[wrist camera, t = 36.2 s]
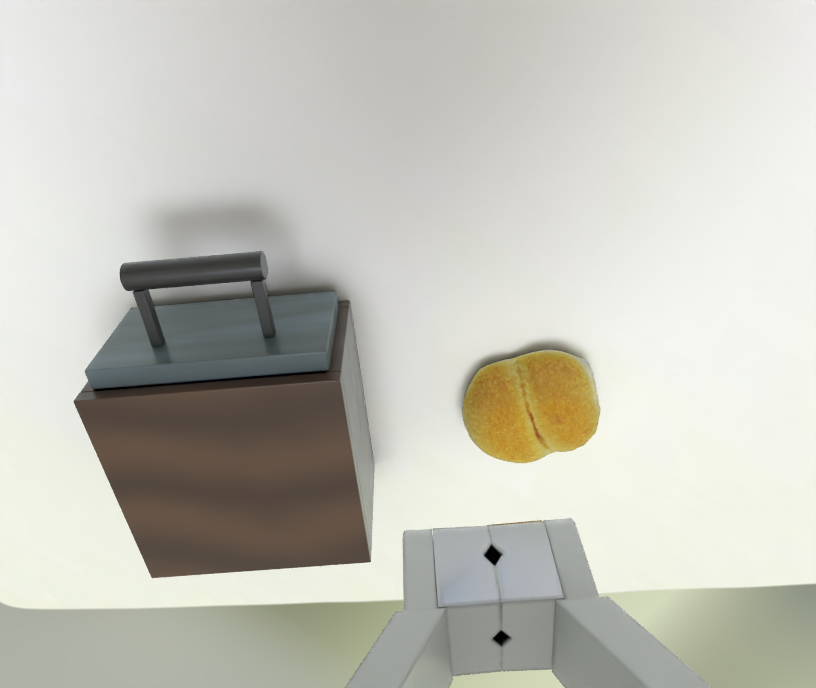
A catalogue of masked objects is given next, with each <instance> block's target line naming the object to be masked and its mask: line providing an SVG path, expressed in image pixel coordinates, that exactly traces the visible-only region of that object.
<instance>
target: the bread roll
mask: <svg viewBox="0 0 816 688" xmlns="http://www.w3.org/2000/svg"><path fill="white" fill-rule="evenodd" d="M599 414H600V406H599V402H598V395H597V393H596V385H595V381H594V377H593V372H592V369H591V366H590V364H589V363H588V362H587V361H586V360H584V359H582V358H579V357H576V356H573V355H571V354H569V353H566V352H562V351H557V350H541V351H535V352H531V353H527V354H524V355H520V356H518V357H515V358H512V359H505V360H501V361H497V362H494V363H491V364H489V365H486V366H484V367H482V368H481V369H480V370H479V371H478V372H477V373H476V375H475V376H474V378H473V379H472V381H471V383H470V385H469V387H468V390H467V392H466V395H465V398H464V403H463V408H462V415H463V421H464V424H465V427H466V429H467V432H468V434H469V436H470V438H471V439H472V441H473V442H474V443H475V444H476V445H477V446H478V447H479V448H480V449H481V450H482V451H483V452H485V453H486V454H488V455H490V456H492V457H494V458H497V459H500V460H504V461H508V462H514V463H528V462H533V461H536V460H538V459H541V458H543V457H544V456H546V455H548V454H551V453H553V452H556V451H558V452H566V451H572V450H575V449H576V448H578V447H581V446H583V445H584V444H585V443H586V442H587V441H588V440H589V439H590V438H591V437H592V436H593V435H594V433H595V432H596V429H597V425H598V420H599Z"/></svg>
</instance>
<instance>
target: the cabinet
mask: <svg viewBox="0 0 816 688" xmlns="http://www.w3.org/2000/svg"><path fill="white" fill-rule="evenodd" d="M338 304H339V311H338V317H337V324H336V330H335V337H334V343H333V350H332V356H331V363H330V369H329V370H326V373H318V374H305V375H293V376H280V377H268V378H256V379H243V380H231V381H218V382H206V383H194V384H181V385H169V386H156V387H144V388H132V389H127V387H128V386H127V387H115V388H102V389H92V388H91V385H90V383H89V381H88V382H87V384H86V385H85V386H84V388H83V389H82V391H81V393H79V394H78V396H77V397H76V399H75V400H74V404H75V406H76V408H77V411H78V413H79V415H80V417H81V420H82V422H83V424H84V426H85V429H86V431H87V433H88V435H89V438H90V440H91V442H92V444H93V447H94V449H95V451H96V453H97V456H98V458H99V460H100V462H101V465H102V467H103V469H104V471H105V474H106V476H107V478H108V480H109V483H110V485H111V487H112V489H113V492H114V494H115V496H116V498H117V501H118V503H119V505H120V507H121V510H122V512H123V514H124V516H125V519H126V521H127V523H128V525H129V528H130V530H131V532H132V534H133V537H134V539H135V541H136V543H137V546H138V548H139V550H140V553H141V555H142V557H143V559H144V562H145V564H146V566H147V568H148V571H149V573H150V575H151V577H152V578H159V577H173V576H187V575H201V574H214V573H228V572H242V571H256V570H269V569H283V568H297V567H311V566H325V565H338V564H352V563H366V562H371V545H372V518H373V491H374V460H373V453H372V446H371V440H370V433H369V426H368V419H367V413H366V406H365V399H364V392H363V385H362V379H361V372H360V365H359V358H358V352H357V345H356V338H355V331H354V324H353V318H352V311H351V304H350V301H341V302H338Z"/></svg>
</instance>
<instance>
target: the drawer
mask: <svg viewBox="0 0 816 688" xmlns="http://www.w3.org/2000/svg"><path fill="white" fill-rule="evenodd" d="M267 273H268V268H267V261H266V257H265V254H264V252H262V251H259V252H248V253H236V254H224V255H213V256H201V257H189V258H178V259H166V260H155V261H143V262H131V263H124V264H122V266H121V268H120V280H121V283H122V285H123V287H124V289H125V290H127V291H133V294H134V297H135V300H136V302H137V305H138V308H131V309H130V310H129V312H128V313H127V314H126V316H125V317H124V318H123V320H122V321H121V322H120V324H119V325H118V326H117V328H116V329H115V330H114V332H113V333H112V335H111V336H110V337H109V339H108V340H107V341H106V343H105V344H104V345H103V347H102V348H101V349H100V351H99V352H98V353H97V355H96V356H95V357H94V359H93V360H92V361H91V363H90V364H89V366H88V367H87V368H86V370H85V374H86V376H87V378H88V381H89V383H90V385H91V388H92V389H102V388H115V387H127V386H128V387H127V389H132V388H144V387H156V386H165V385H164V383H177V382H189V381H201V380H214V379H226V378H238V377H251V376H263V375H276V374H288V373H300V372H306V374H318V373H326V370H329V369H330V363H331V356H332V350H333V343H334V337H335V330H336V324H337V317H338V311H339V304H338V298H337V292H336V291H329V292H318V293H306V294H294V295H282V296H270V297H268V293H267V288H266V284H265V279H266V278H267ZM241 281H251V286H252V290H253V294H254V298H246V299H234V300H222V301H210V302H198V303H187V304H175V305H163V306H154V305H153V302H152V299H151V296H150V293H149V290H148V289H158V288H170V287H182V286H194V285H206V284H217V283H229V282H241Z"/></svg>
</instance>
